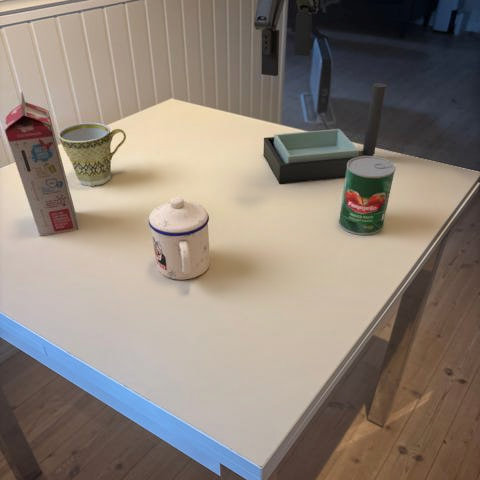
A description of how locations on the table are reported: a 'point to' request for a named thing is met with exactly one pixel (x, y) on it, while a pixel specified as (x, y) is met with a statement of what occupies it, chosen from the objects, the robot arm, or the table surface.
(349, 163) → the canned tomato
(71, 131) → the ceramic cup
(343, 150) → the green tray with handle
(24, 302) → the table surface
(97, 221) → the table surface
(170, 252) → the teacup with lid
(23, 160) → the juice carton
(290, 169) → the frame
